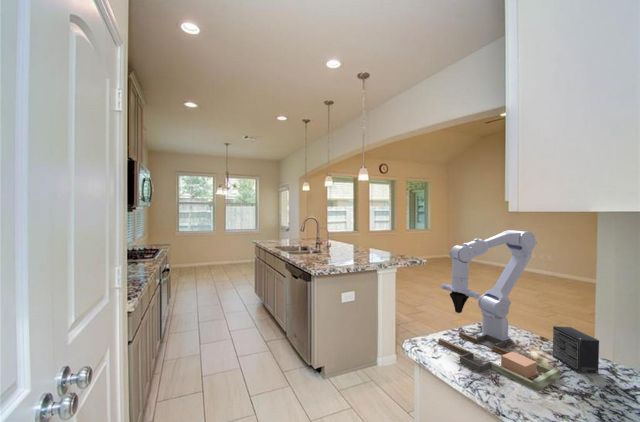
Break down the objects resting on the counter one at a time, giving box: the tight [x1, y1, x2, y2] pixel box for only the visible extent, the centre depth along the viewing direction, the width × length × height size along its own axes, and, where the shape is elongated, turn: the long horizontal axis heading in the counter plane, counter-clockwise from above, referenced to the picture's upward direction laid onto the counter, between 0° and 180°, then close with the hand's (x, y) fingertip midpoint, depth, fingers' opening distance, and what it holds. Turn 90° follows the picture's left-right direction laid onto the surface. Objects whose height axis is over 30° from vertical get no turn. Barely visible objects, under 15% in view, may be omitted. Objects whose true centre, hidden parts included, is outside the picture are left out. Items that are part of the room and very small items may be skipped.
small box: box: [552, 325, 600, 375], centre depth 92 cm, size 11×6×10 cm, turn 179°
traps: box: [459, 334, 505, 374], centre depth 98 cm, size 25×13×2 cm, turn 119°
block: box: [500, 351, 538, 379], centre depth 88 cm, size 6×7×4 cm
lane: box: [438, 331, 561, 392], centre depth 95 cm, size 13×32×2 cm, turn 29°
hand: (458, 312), depth 109 cm, fingers closed
